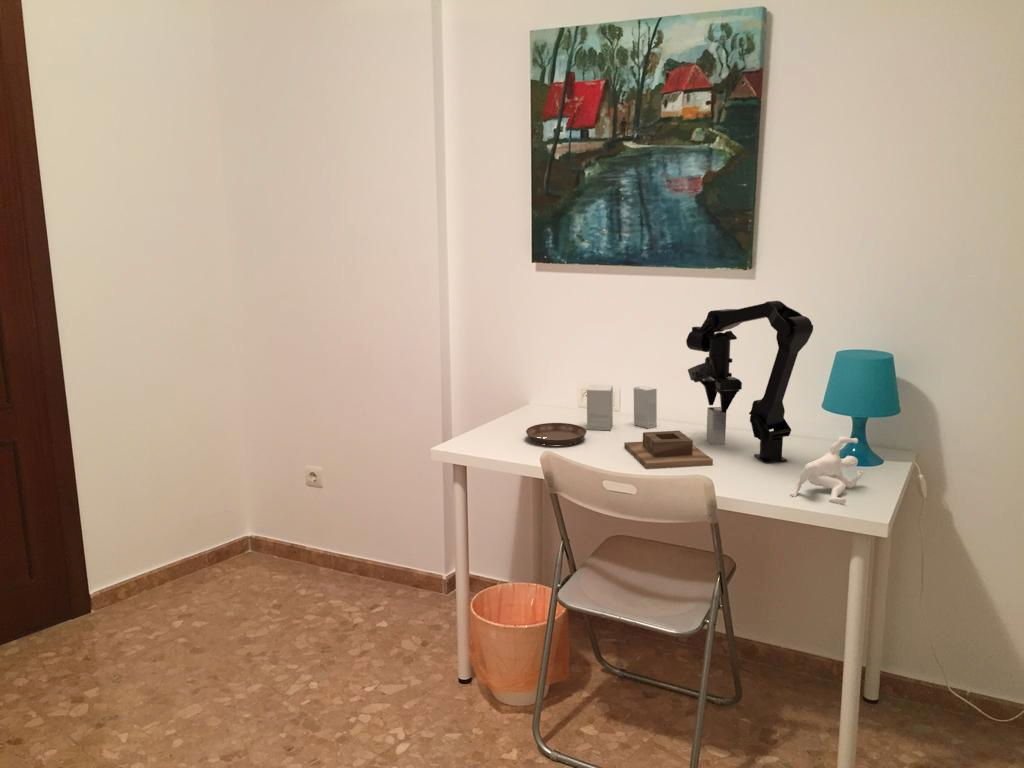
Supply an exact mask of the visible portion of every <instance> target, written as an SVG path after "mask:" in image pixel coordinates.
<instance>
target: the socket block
mask: <svg viewBox="0 0 1024 768" xmlns="http://www.w3.org/2000/svg"><path fill="white" fill-rule="evenodd" d="M693 441H694V440H693V439H692V438H690V437H688V436H687V435H686V434H684V433H683V432H682V431H681V430H666V431H646V432H645V431H643V432H642V441H629V442H626V441H624V443H623V444H624V445H623V447H624V449H625V450H626V451H627V452H628V453H629V452H630V453H631V454H630V455H631V456H632V455H633V456H634V457H633V456H632V457H633V458H635V460H636V461H637V462H639V464H641V465H642V466H643V467H644V468H645V469H646V470H649V468H652V469H666V467H670V468H681V467H683V468H685V467H702V466H703V465H704V466H713V465H714V459H713V458H711V456H709V455H708V454H706V453H705V452H704V451H702V450H701V449H700V448H698V447H697V446H696V445H694V444H693V443H694V442H693Z"/></svg>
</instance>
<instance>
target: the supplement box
mask: <svg viewBox="0 0 1024 768" xmlns="http://www.w3.org/2000/svg"><path fill="white" fill-rule="evenodd" d="M613 403H614V388H613V385H598V384H590V385H589V387H588V388H587V389H586V428H587V429H586V430H587V431H588V430H589V431H592V430H593V431H597V430H598V431H611V429H612V427H613V424H614V421H613V419H614V418H613V417H614V416H613V414H614V413H613V411H614V408H613V406H614V405H613Z"/></svg>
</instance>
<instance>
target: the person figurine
mask: <svg viewBox="0 0 1024 768" xmlns="http://www.w3.org/2000/svg"><path fill="white" fill-rule="evenodd" d="M858 439H859V438H857V437H854V438H850V437H847V436H840V437H838V439H837V440H836V441H835V442H834V443H832V445H831V446H830V449H829V451H828V452H826V454H824V455H823V456H822V457H820V458H818V459H815V460H813V461H810V462H808V463H806V464H805V466H804V468H803V470H802V472H801V474H800V477H799V480H798V482H797V484H796V483H795V487H794V488H793V489H792V490H791V491H790V496H791V497H792V496H793V498H796V497H795V496H797V495H798V494H799V492H800V490H801V488H802V485H803V484H804V483H806V482H807V480H808V482H809V483H810V484H811V485H814V486H819V487H823V488H827V489H831V492H830V493H831V494H830V497H829V498H828V501H829V502H830V501H831V503H833V502H836V503H835V504H838V503H843V504H844V505H845V504H846V503H847V499H846V498H842V497H838V496H840V495H841V494H842V492H843V491H844V490H845V489H846V488H847V489H848V488H849V489H848V490H850V489H852V488H853V487H855V486H856V484H857V483H858V481H859V480H860V479H861V478H862V476H863V475H865V472H864V471H863V470H861V469H859V470H858V471H857V475H856V477H854V479H852V480H850V481H849V480H848V479H847V478H845V477H844V475H843V468H842V467H846V468H852V467H855V466H857V465H858V463H859V460H858V458H857V457H855V456H854V455H846V456H845V457H844V458H841V456H840V450H841V448H843V444H849V443H853V444H857V443H859V440H858ZM843 504H842V505H843Z"/></svg>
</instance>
